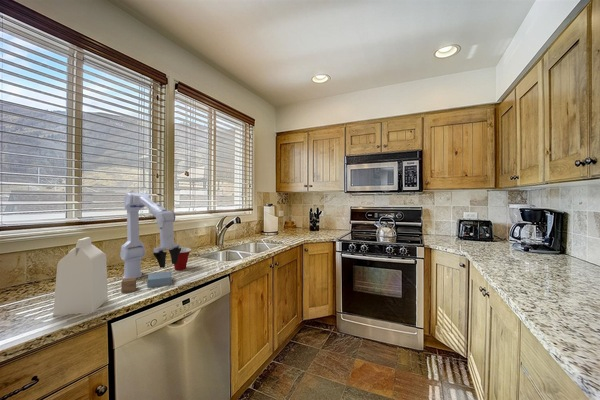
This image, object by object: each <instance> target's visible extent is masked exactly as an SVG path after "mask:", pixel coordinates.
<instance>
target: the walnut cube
mask: <svg viewBox="0 0 600 400" xmlns="http://www.w3.org/2000/svg"><path fill="white" fill-rule="evenodd" d="M122 278H123V277H122ZM137 279H138V278H137V277H130V278H123V279H121V289H120V290H121V292H120V293H121V294H123V293H130V292H135V291H136V288H137Z"/></svg>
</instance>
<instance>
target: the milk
mask: <svg viewBox="0 0 600 400" xmlns="http://www.w3.org/2000/svg"><path fill="white" fill-rule="evenodd" d="M107 265H108V264H107V255H106V253H105V252H104V251H102V250H101V249H100V248H98V247H97V246H95V245H94V244H92V238H91V237H88V236H87V237H84V238H80V239H77V242H76V244H75V247H73V248H72V249H70V250H69V251H68V253H67V254H66V255H64V256H63V257H61V259H60V260H59V261H58V263H57V265H56V275H55V276H56V278H55V287H54V288H55V290H54V300H53V312H52V317H53V316H55V317H56V316H66V315H67V316H68V314H69V315H79V314H78V313H81V314H90V313H94V312H95V311H96V310H97V309H98V308H100V306H102V305H103V304H104V303H106V302H107V301H108V300H109V295H108V291H109V290H108V273H107V272H108V270H107V269H108V267H107Z"/></svg>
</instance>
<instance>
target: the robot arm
mask: <svg viewBox="0 0 600 400" xmlns="http://www.w3.org/2000/svg"><path fill="white" fill-rule="evenodd" d="M123 205H124V206H123V207H124V209H125V210H126V227H127V228H126V231H127V232H126V233H127V234H126V235H127V236H126V237H127V240H126V242H125V243H124V244H122V245H121V249H120V252H119V255H120V256H119V257H120V258H121V259H122V261H124V266H123V268H124V269H123V271H124V272H123V276H122V278H121V280H123V278H130V277H137V279H138V278H139V279H140V278H141V277H142V275H143V271H142V259H143V257H144V256H145V255H146V248H145V243H144V242H142V241H140V230H139V229H140V224H139V223H140V219H139V211H140V210H141V209H144V208H145V207H146V208H147V209H149V210H148V211H149V213H150V214H151V215H153V217H155V220H156V223H157V226H158V228H159V240H160V241H159V243H160V246H158V247H154V248H153V257H155V258H156V261H157V263H158V265H159V268H160V269H164V268H166V257H167V253H168V252H169V254H170V258H171V259H170V261H171V264H172V265H174V264H177V260H178V256H179V253H180V251H181V248H180V247H181V243H175V233H174V222H175V220H176V213H175V211H173V210H167V208H165V207H164V206H163V205H162V204H161V203H155V202H154V201H153V200H152V199H151V195H150V194H148V193H140V192H138V193H136V192H127V193H126V194H125V195H124V197H123Z"/></svg>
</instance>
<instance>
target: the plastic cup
mask: <svg viewBox="0 0 600 400" xmlns="http://www.w3.org/2000/svg"><path fill="white" fill-rule="evenodd" d="M180 248H181V251H180V253H179V256H178V260H177V264H173V268H174V271H184V270H186V268H187V263H188V261H189V255H190V253H191V251H192V249H191V248H190V247H183V246H182V247H181V246H180Z"/></svg>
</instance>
